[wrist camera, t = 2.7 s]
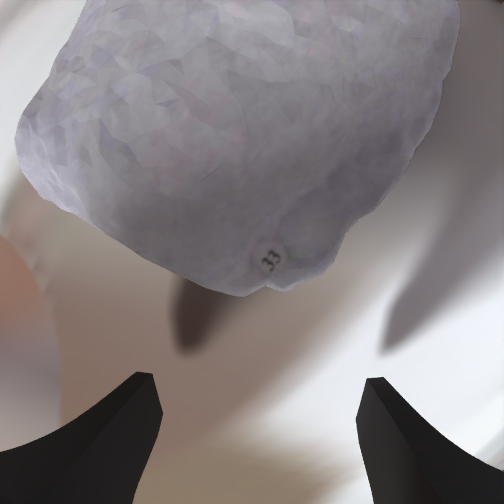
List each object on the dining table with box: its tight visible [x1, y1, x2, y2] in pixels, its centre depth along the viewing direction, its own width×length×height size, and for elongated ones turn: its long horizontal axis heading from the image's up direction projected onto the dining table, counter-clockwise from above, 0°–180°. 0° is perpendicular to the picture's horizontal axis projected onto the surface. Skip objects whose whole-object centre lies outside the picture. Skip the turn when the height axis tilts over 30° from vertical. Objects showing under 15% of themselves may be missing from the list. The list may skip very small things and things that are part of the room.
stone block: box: [15, 0, 461, 297], centre depth 7 cm, size 12×5×10 cm
